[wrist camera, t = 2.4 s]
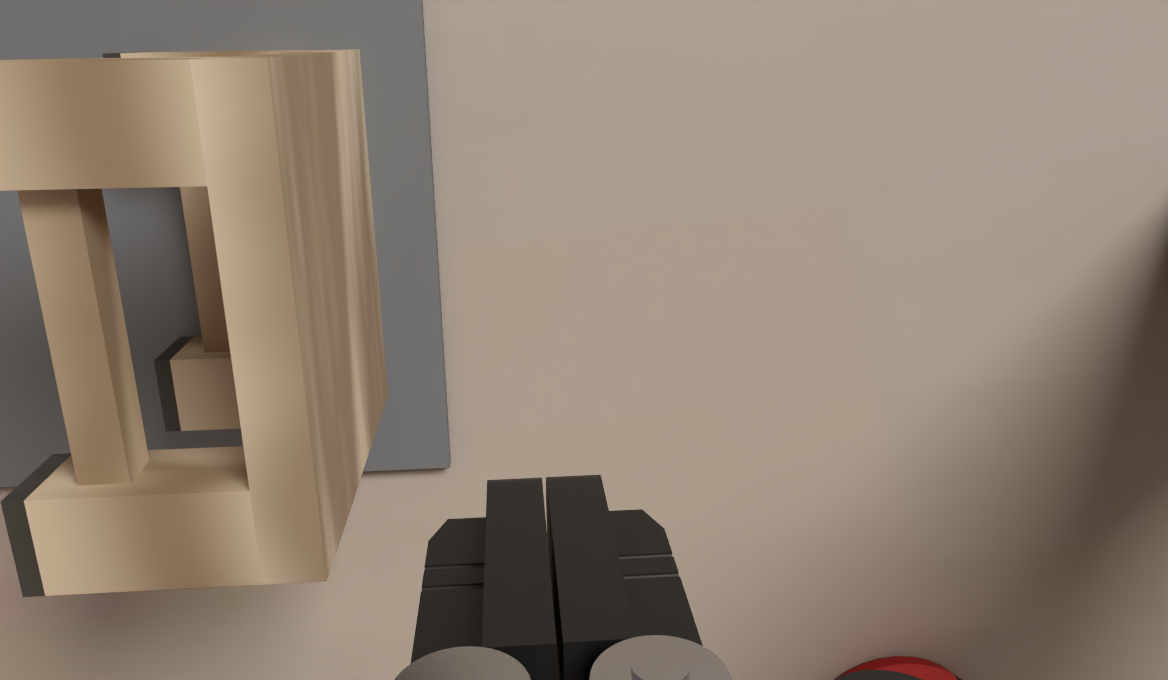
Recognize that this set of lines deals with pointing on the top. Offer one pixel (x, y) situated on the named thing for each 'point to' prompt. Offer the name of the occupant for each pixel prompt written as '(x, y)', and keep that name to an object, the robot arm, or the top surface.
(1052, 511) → the top surface
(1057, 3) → the top surface
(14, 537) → the stool
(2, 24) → the mat
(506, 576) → the robot arm
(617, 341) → the top surface
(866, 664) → the canned food
